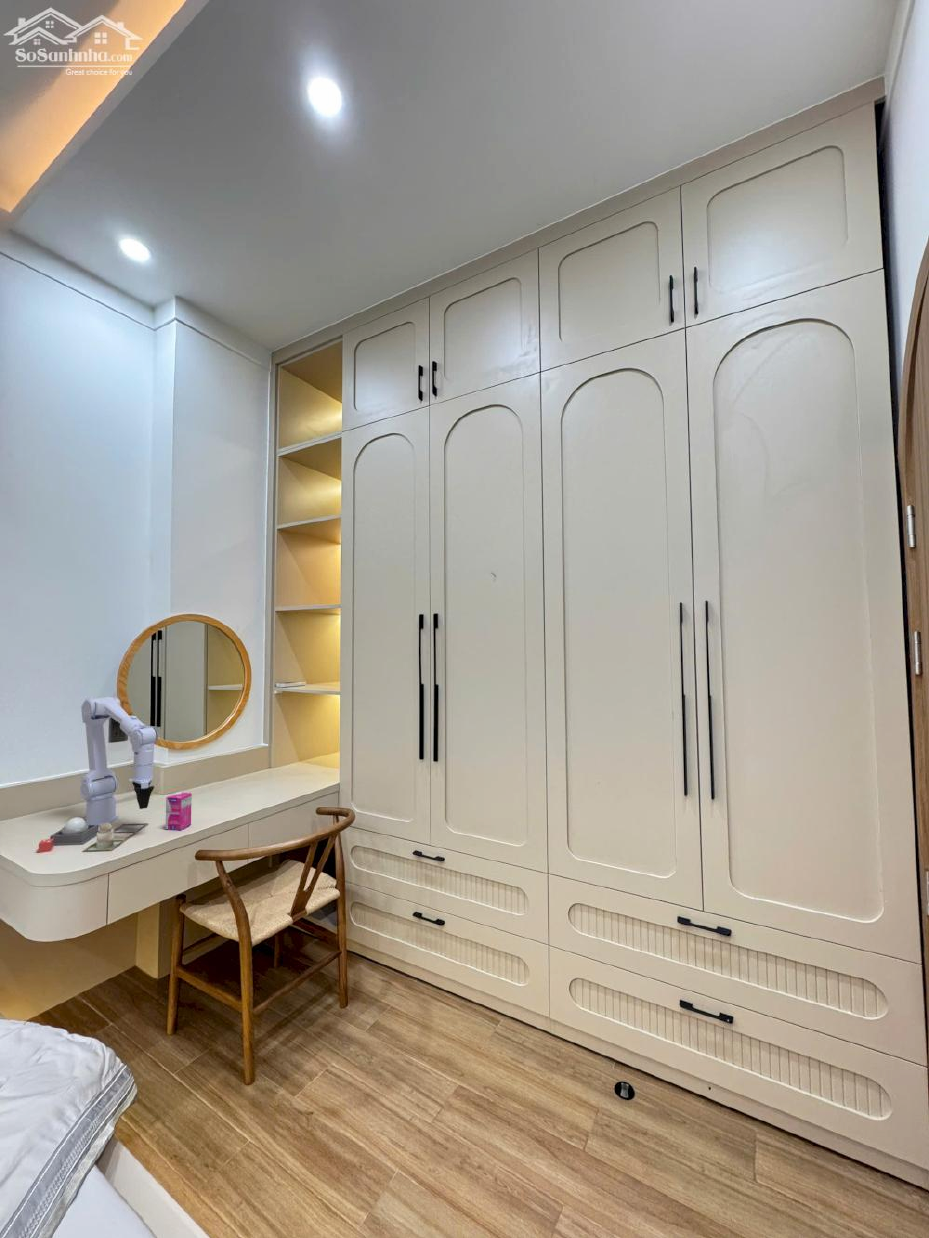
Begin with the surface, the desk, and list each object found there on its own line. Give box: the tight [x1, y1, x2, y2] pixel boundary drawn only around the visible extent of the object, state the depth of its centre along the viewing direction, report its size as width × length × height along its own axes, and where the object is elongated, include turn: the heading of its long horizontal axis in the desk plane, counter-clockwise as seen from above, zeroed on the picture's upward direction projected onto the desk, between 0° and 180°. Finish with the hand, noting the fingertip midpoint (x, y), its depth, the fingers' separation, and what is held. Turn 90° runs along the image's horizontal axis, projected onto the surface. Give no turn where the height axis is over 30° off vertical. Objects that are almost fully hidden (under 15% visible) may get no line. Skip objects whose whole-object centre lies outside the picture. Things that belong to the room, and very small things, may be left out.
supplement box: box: [165, 791, 193, 832], centre depth 181 cm, size 6×6×12 cm
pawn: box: [96, 822, 115, 849], centre depth 165 cm, size 4×4×7 cm
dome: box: [61, 816, 88, 835], centre depth 171 cm, size 7×7×6 cm
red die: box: [38, 838, 55, 854], centre depth 161 cm, size 3×3×3 cm
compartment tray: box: [82, 822, 149, 853], centre depth 172 cm, size 23×8×1 cm, turn 7°
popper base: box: [49, 824, 100, 847], centre depth 170 cm, size 11×11×3 cm
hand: (142, 805), depth 176 cm, fingers open, 7 cm apart
